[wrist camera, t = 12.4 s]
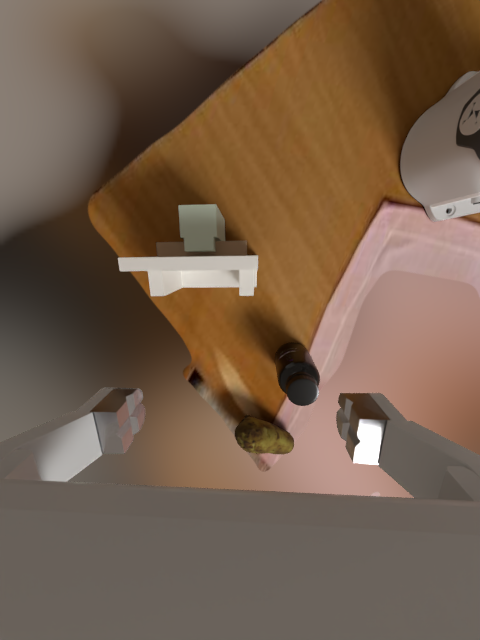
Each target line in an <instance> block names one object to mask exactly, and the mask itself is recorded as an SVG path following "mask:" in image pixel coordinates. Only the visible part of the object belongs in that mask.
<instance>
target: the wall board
mask: <svg viewBox="0 0 480 640" xmlns="http://www.w3.org/2000/svg"><path fill="white" fill-rule="evenodd" d="M156 249H157V257H130V258H118V262H119V268H120V271H148V277H149V285H150V293H151V296H165V295H167V294H170V293H172V292H174V291H176V290H178V289H180V288H182V287H239V290H240V296H254V287H257V270H258V255H247V241H215V250H216V252H186V251H185V248H184V242H156Z"/></svg>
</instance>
